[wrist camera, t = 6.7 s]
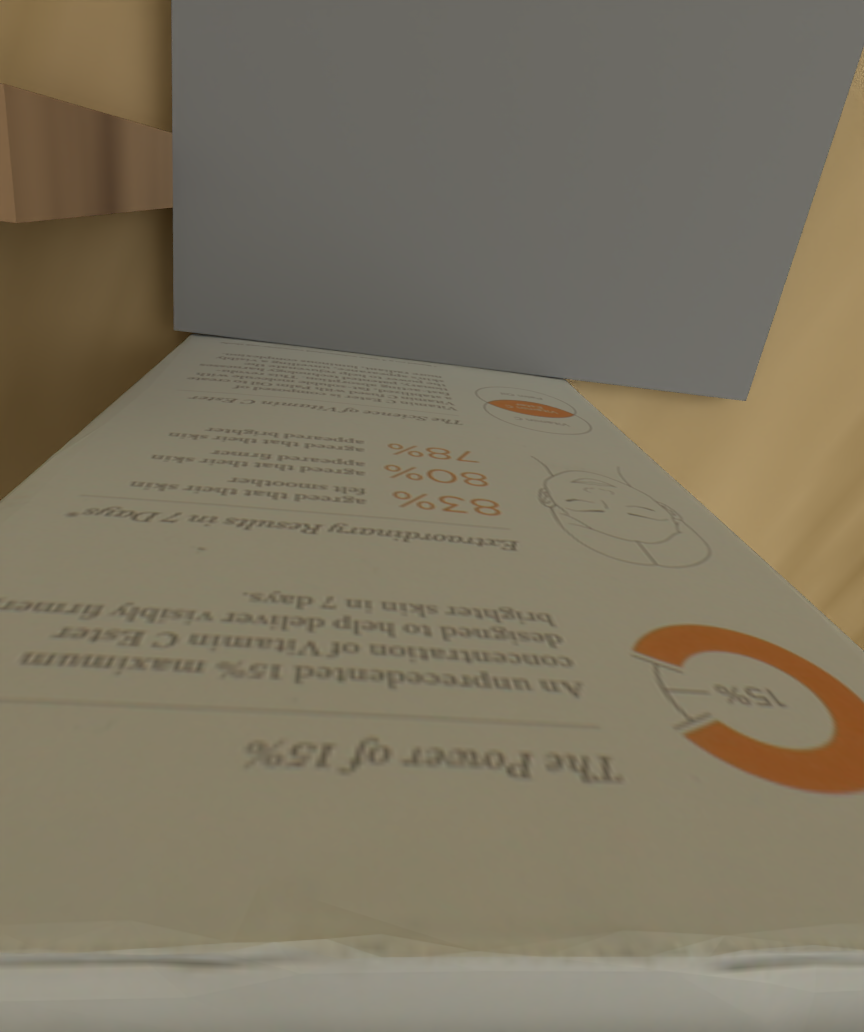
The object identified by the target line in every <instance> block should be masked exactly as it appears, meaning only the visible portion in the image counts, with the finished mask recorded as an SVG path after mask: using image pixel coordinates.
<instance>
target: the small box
mask: <svg viewBox="0 0 864 1032" xmlns="http://www.w3.org/2000/svg"><path fill="white" fill-rule="evenodd" d="M0 1032H864V651H863V650H862V649H861V648H860V647H859V646H858V645H857V644H855V643H854V642H853V641H852V640H851V639H850V638H849V637H848V636H847V635H846V634H845V633H843V632H842V631H841V630H840V629H839V628H838V627H837V626H836V625H835V624H834V623H832V622H831V621H830V620H829V619H828V618H827V617H826V616H825V615H824V614H823V613H822V612H820V611H819V610H818V609H817V608H816V607H815V606H814V605H813V604H812V603H811V602H810V601H808V600H807V599H806V598H805V597H804V596H803V595H802V594H801V593H800V592H799V591H797V590H796V589H795V588H794V587H793V586H792V585H791V584H790V583H789V582H788V581H786V580H785V579H784V578H783V577H782V576H781V575H780V574H779V573H778V572H777V571H775V570H774V569H773V568H772V567H771V566H770V565H769V564H768V563H767V562H765V561H764V560H763V559H762V558H761V557H760V556H759V555H758V554H757V553H756V552H754V551H753V550H752V549H751V548H750V547H749V546H748V545H747V544H746V543H745V542H743V541H742V540H741V539H740V538H739V537H738V536H737V535H736V534H735V533H733V532H732V531H731V530H730V529H729V528H728V527H727V526H726V525H725V524H724V523H722V522H721V521H720V520H719V519H718V518H717V517H716V516H715V515H714V514H712V513H711V512H710V511H709V510H708V509H707V508H706V507H705V506H704V505H702V504H701V503H700V502H699V501H698V500H697V499H696V498H695V497H694V496H692V495H691V494H690V493H689V492H688V491H687V490H686V489H685V488H684V487H682V486H681V485H680V484H679V483H678V482H677V481H676V480H675V479H674V478H672V477H671V476H670V475H669V474H668V473H667V472H666V471H665V470H664V469H662V468H661V467H660V466H659V465H658V464H657V463H656V462H655V461H654V460H653V459H651V458H650V457H649V456H648V455H647V454H646V453H645V452H644V451H643V450H641V449H640V448H639V447H638V446H637V445H636V444H635V443H634V442H633V441H631V440H630V439H629V438H628V437H627V436H626V435H625V434H624V433H623V432H622V431H620V430H619V429H618V428H617V427H616V426H615V425H614V424H613V423H612V422H610V421H609V420H608V419H607V418H606V417H605V416H604V415H603V414H602V413H601V412H599V411H598V410H597V409H596V408H595V407H594V406H593V405H592V404H591V403H590V402H588V401H587V400H586V399H585V398H584V397H583V396H582V395H581V394H580V393H579V392H578V391H577V390H575V389H574V388H573V387H572V386H571V385H570V384H569V383H568V382H567V381H566V380H565V379H563V378H556V377H548V376H540V375H532V374H524V373H516V372H508V371H500V370H492V369H484V368H475V367H467V366H459V365H451V364H443V363H435V362H427V361H419V360H411V359H403V358H395V357H387V356H378V355H370V354H362V353H354V352H346V351H338V350H330V349H322V348H314V347H306V346H298V345H290V344H282V343H273V342H265V341H257V340H249V339H241V338H233V337H225V336H216V335H207V334H198V333H197V334H191V335H189V337H188V338H186V339H185V341H184V342H182V343H181V344H180V345H178V346H177V347H176V348H175V349H174V350H173V351H172V352H171V353H169V354H168V355H167V356H166V357H165V358H164V359H163V360H162V361H161V362H159V363H158V364H157V365H156V366H154V367H153V368H152V369H151V370H150V371H149V372H148V373H147V374H145V375H144V376H143V377H142V378H141V379H140V380H139V381H137V382H136V383H135V384H134V385H133V386H132V387H130V388H129V389H128V390H127V391H126V392H125V393H123V394H122V395H121V396H120V397H119V398H118V399H117V400H115V401H114V402H113V403H112V404H111V405H110V406H109V407H107V408H106V409H105V410H104V411H103V412H102V413H101V414H99V415H98V416H97V417H96V418H95V419H94V420H92V421H91V422H90V423H89V424H88V425H87V426H86V427H85V428H84V429H83V430H81V431H80V432H79V433H78V434H77V435H76V436H74V437H73V438H72V439H71V440H70V441H68V442H67V443H66V444H65V445H64V446H63V447H62V448H61V449H60V450H58V451H57V452H56V453H55V454H53V455H52V456H51V457H50V458H49V459H48V460H47V461H46V462H44V463H43V464H42V465H41V466H40V467H39V468H38V469H36V470H35V471H34V472H33V473H32V474H31V475H30V476H28V477H27V478H26V479H25V480H24V481H23V482H22V483H20V484H19V485H18V486H17V487H16V488H15V489H13V490H12V491H11V492H10V493H9V494H8V495H7V496H5V497H4V498H3V499H2V500H1V501H0Z"/></svg>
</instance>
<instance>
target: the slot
mask: <svg viewBox="0 0 864 1032" xmlns="http://www.w3.org/2000/svg"><path fill="white" fill-rule="evenodd" d="M172 207H173V154H172V133H171V132H167V131H164V130H160V129H157V128H153V127H150V126H147V125H143V124H140V123H136V122H133V121H129V120H126V119H123V118H119V117H116V116H112V115H109V114H105V113H102V112H99V111H95V110H92V109H88V108H85V107H81V106H78V105H75V104H71V103H68V102H64V101H61V100H57V99H54V98H51V97H47V96H44V95H40V94H37V93H33V92H30V91H27V90H23V89H20V88H16V87H13V86H9V85H6V84H2V83H0V221H4V222H11V223H23V222H33V221H43V220H53V219H63V218H73V217H83V216H93V215H103V214H113V213H123V212H133V211H143V210H152V209H162V208H172Z"/></svg>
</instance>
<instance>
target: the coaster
mask: <svg viewBox="0 0 864 1032" xmlns="http://www.w3.org/2000/svg"><path fill="white" fill-rule="evenodd" d="M171 10H172V154H173V299H174V330H177V331H185V332H193V333H201V334H209V335H217V336H225V337H233V338H241V339H249V340H257V341H265V342H273V343H282V344H290V345H298V346H306V347H314V348H322V349H330V350H338V351H346V352H354V353H362V354H370V355H378V356H387V357H395V358H403V359H411V360H419V361H427V362H435V363H443V364H451V365H459V366H467V367H475V368H484V369H492V370H500V371H508V372H516V373H524V374H532V375H540V376H548V377H556V378H564V379H572V380H580V381H589V382H597V383H605V384H613V385H621V386H629V387H637V388H645V389H653V390H661V391H669V392H677V393H685V394H694V395H702V396H710V397H718V398H726V399H734V400H742V401H746V399H747V396H748V393H749V390H750V387H751V384H752V381H753V378H754V375H755V372H756V369H757V366H758V363H759V360H760V357H761V354H762V351H763V348H764V345H765V342H766V339H767V336H768V333H769V330H770V327H771V324H772V321H773V318H774V315H775V312H776V309H777V306H778V303H779V300H780V297H781V294H782V291H783V288H784V285H785V282H786V279H787V276H788V273H789V270H790V267H791V264H792V261H793V258H794V255H795V252H796V249H797V246H798V243H799V240H800V237H801V233H802V230H803V227H804V224H805V221H806V218H807V215H808V212H809V209H810V206H811V203H812V200H813V197H814V194H815V191H816V188H817V185H818V182H819V179H820V176H821V173H822V170H823V167H824V164H825V161H826V158H827V155H828V152H829V149H830V146H831V143H832V140H833V137H834V134H835V131H836V128H837V125H838V122H839V119H840V116H841V113H842V110H843V107H844V104H845V101H846V98H847V95H848V92H849V89H850V86H851V83H852V80H853V77H854V74H855V71H856V68H857V65H858V62H859V59H860V56H861V53H862V50H863V47H864V0H171Z"/></svg>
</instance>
